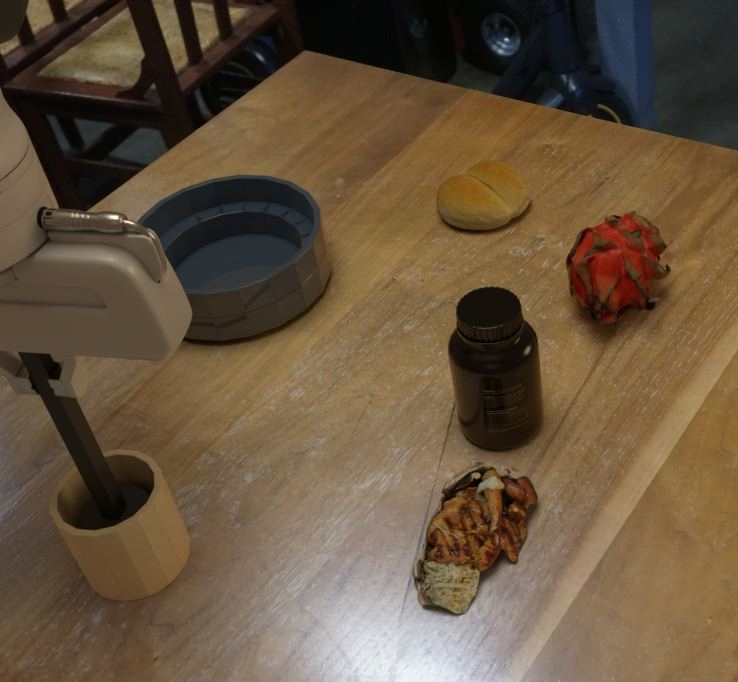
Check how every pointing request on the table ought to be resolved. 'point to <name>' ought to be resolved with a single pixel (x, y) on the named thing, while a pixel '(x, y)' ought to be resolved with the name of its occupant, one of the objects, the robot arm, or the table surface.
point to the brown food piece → (471, 534)
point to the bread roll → (483, 196)
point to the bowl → (243, 252)
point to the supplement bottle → (495, 369)
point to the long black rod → (84, 453)
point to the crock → (125, 531)
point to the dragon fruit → (616, 266)
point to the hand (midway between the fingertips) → (53, 388)
